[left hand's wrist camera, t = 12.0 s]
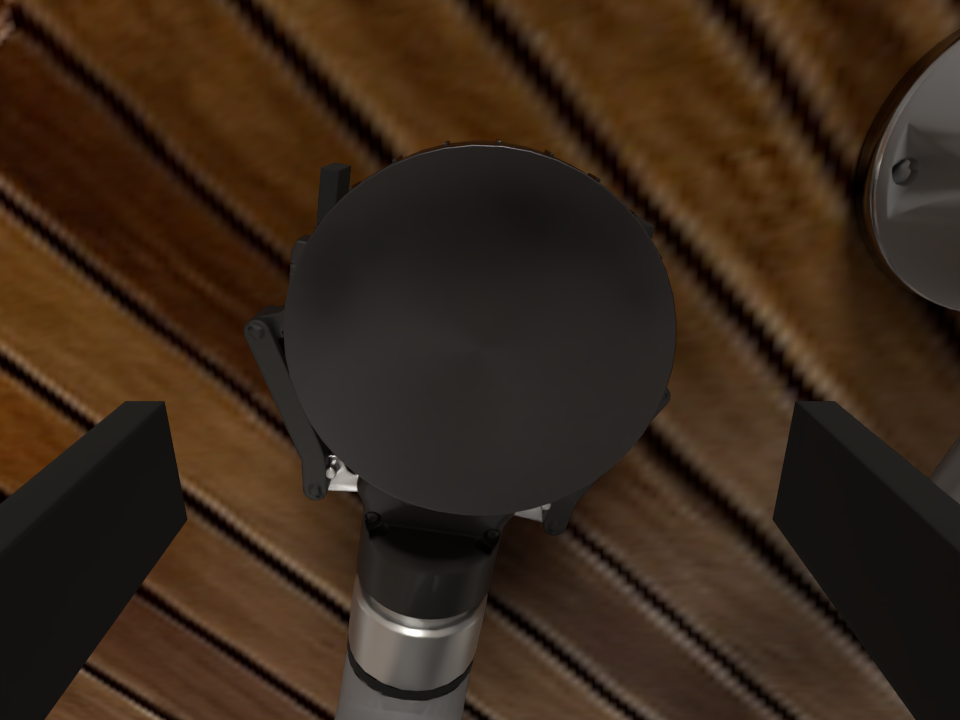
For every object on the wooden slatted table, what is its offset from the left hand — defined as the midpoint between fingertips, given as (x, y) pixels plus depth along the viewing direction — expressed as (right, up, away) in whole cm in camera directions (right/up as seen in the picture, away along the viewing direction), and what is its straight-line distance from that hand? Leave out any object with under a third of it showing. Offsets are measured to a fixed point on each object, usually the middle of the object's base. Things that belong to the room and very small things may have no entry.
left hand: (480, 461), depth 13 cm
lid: (0, +2, +6) cm, 7 cm away
